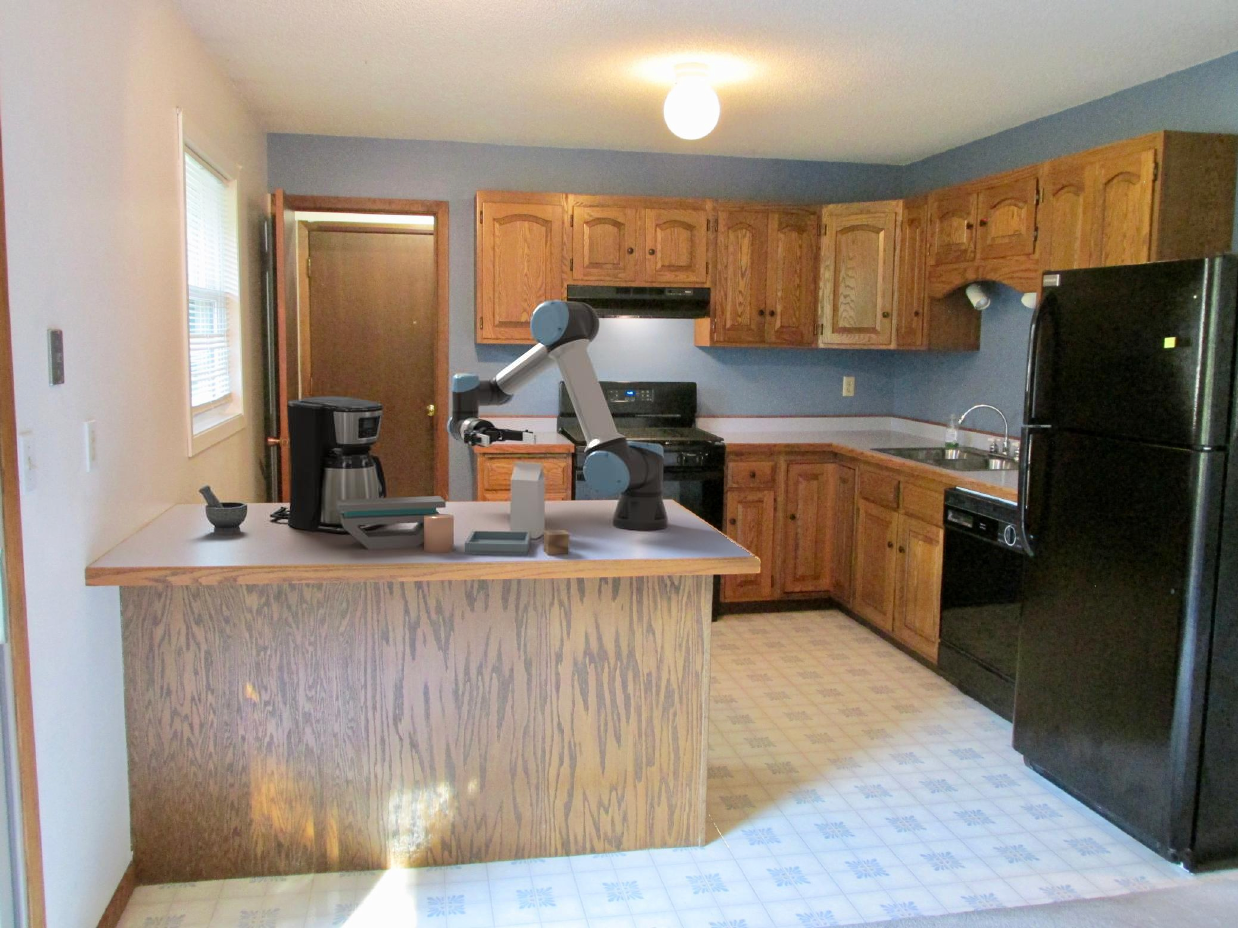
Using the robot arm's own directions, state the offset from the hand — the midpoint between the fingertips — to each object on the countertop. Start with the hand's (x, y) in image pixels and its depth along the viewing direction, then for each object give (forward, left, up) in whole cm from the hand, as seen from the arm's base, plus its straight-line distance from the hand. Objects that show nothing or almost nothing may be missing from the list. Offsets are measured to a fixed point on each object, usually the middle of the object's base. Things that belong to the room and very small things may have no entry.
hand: (511, 440), depth 259 cm
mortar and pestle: (+71, +11, -24) cm, 76 cm away
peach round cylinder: (+15, +27, -24) cm, 39 cm away
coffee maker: (+47, -4, -24) cm, 53 cm away
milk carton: (-5, +8, -24) cm, 26 cm away
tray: (+1, +23, -24) cm, 33 cm away
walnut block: (-13, +27, -24) cm, 38 cm away
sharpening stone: (+27, +22, -24) cm, 42 cm away
